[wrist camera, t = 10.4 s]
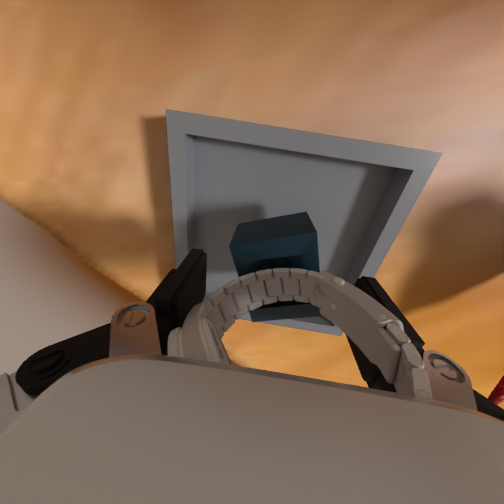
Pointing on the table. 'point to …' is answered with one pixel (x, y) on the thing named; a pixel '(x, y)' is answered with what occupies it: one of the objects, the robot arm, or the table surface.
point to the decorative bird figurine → (498, 392)
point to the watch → (297, 302)
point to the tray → (289, 194)
